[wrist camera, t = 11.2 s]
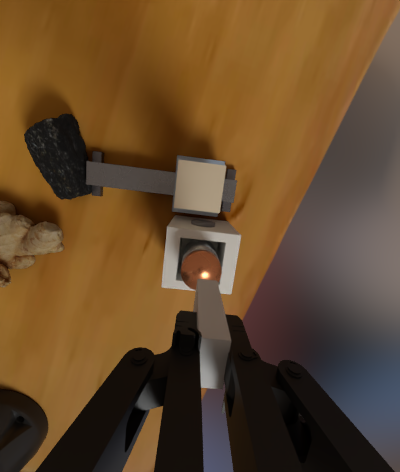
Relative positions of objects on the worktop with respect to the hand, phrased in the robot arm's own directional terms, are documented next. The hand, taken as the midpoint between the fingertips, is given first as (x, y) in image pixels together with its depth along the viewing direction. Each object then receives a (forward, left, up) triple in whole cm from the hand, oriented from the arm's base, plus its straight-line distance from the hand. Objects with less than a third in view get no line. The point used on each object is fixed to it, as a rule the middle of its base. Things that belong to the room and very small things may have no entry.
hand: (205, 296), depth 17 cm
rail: (-6, +8, -18) cm, 21 cm away
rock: (-20, +9, -18) cm, 28 cm away
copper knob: (0, 0, -11) cm, 11 cm away
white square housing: (0, 0, -18) cm, 18 cm away
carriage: (-1, +8, -18) cm, 20 cm away
